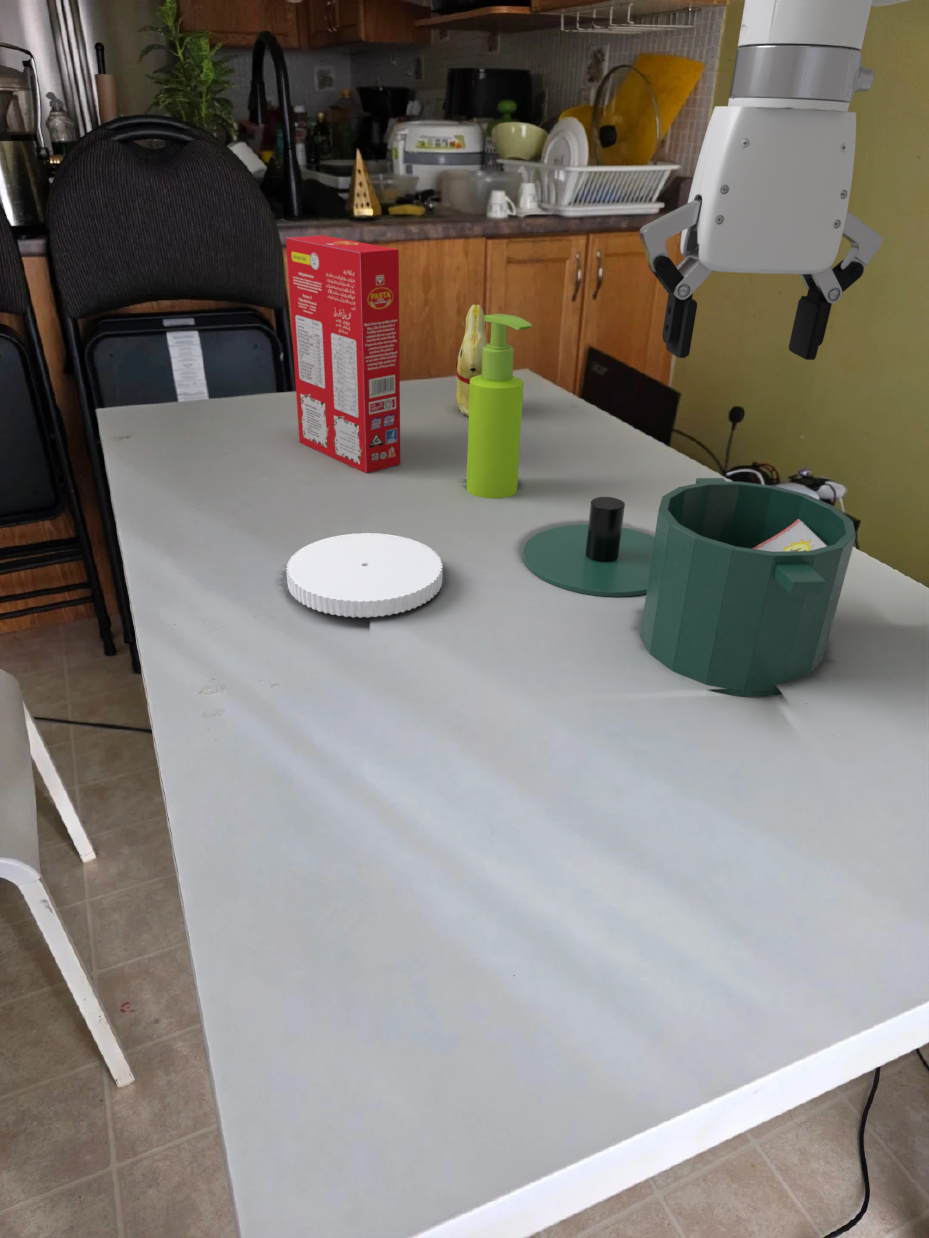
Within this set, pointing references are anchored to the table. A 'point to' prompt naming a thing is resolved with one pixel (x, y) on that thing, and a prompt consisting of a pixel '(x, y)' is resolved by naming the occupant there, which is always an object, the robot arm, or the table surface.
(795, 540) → the white cardboard box
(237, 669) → the table surface
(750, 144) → the robot arm
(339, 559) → the plastic lid
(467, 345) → the chocolate bunny
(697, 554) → the pot
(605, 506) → the pot lid
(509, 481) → the soap dispenser
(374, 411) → the food packaging
